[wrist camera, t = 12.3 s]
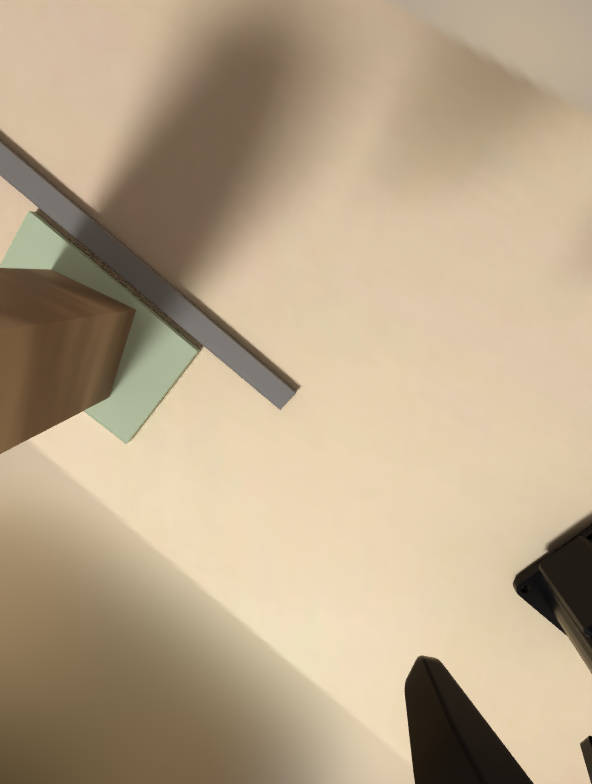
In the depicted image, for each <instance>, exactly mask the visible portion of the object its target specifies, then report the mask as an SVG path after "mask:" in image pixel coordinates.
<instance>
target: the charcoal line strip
mask: <svg viewBox="0 0 592 784" xmlns="http://www.w3.org/2000/svg"><path fill="white" fill-rule="evenodd" d="M0 176H2V177H3V178H4V179H5V180H6V181H8V182H9V183H10V184H11V185H12V186H14V187H15V188H16V189H17V190H18V191H19V192H21V193H22V194H23V195H24V196H25V197H27V198H28V199H29V200H30V201H31V202H33V203H34V204H35V205H36V206H37V207H39V208H40V209H41V210H42V211H43V212H45V213H46V214H47V215H48V216H49V217H51V218H52V219H53V220H54V221H55V222H56V223H58V224H59V225H60V226H61V227H62V228H64V229H65V230H66V231H67V232H68V233H70V234H71V235H72V236H73V237H74V238H76V239H77V240H78V241H79V242H80V243H82V244H83V245H84V246H85V247H86V248H88V249H89V250H90V251H91V252H92V253H94V254H95V255H96V256H97V257H98V258H99V259H101V260H102V261H103V262H104V263H105V264H107V265H108V266H109V267H110V268H111V269H113V270H114V271H115V272H116V273H117V274H119V275H120V276H121V277H122V278H123V279H125V280H126V281H127V282H128V283H129V284H131V285H132V286H133V287H134V288H135V289H136V290H138V291H139V292H140V293H141V294H142V295H144V296H145V297H146V298H147V299H148V300H150V301H151V302H152V303H153V304H154V305H156V306H157V307H158V308H159V309H160V310H162V311H163V312H164V313H165V314H166V315H168V316H169V317H170V318H171V319H172V320H173V321H175V322H176V323H177V324H178V325H179V326H181V327H182V328H183V329H184V330H185V331H187V332H188V333H189V334H190V335H191V336H193V337H194V338H195V339H196V340H197V341H199V342H200V343H201V344H202V345H203V346H205V347H206V348H207V349H208V350H209V351H210V352H212V353H213V354H214V355H215V356H216V357H218V358H219V359H220V360H221V361H222V362H224V363H225V364H226V365H227V366H228V367H230V368H231V369H232V370H233V371H234V372H236V373H237V374H238V375H239V376H240V377H242V378H243V379H244V380H245V381H246V382H247V383H249V384H250V385H251V386H252V387H253V388H255V389H256V390H257V391H258V392H259V393H261V394H262V395H263V396H264V397H265V398H267V399H268V400H269V401H270V402H271V403H273V404H274V405H275V406H276V407H277V408H279V409H280V410H281V409H282V407H283V406H284V405H285V404H286V403H287V402H288V401H289V400H290V399H291V397H292V396H293V395H294V394H295V393H296V391H295V390H294V389H293V388H292V387H290V386H289V385H288V384H287V383H286V382H284V381H283V380H282V379H281V378H280V377H279V376H277V375H276V374H275V373H274V372H273V371H272V370H270V369H269V368H268V367H267V366H266V365H264V364H263V363H262V362H261V361H260V360H259V359H257V358H256V357H255V356H254V355H253V354H251V353H250V352H249V351H248V350H247V349H246V348H244V347H243V346H242V345H241V344H240V343H239V342H237V341H236V340H235V339H234V338H233V337H231V336H230V335H229V334H228V333H227V332H226V331H224V330H223V329H222V328H221V327H220V326H219V325H217V324H216V323H215V322H214V321H213V320H211V319H210V318H209V317H208V316H207V315H206V314H204V313H203V312H202V311H201V310H200V309H199V308H197V307H196V306H195V305H194V304H193V303H191V302H190V301H189V300H188V299H187V298H186V297H184V296H183V295H182V294H181V293H180V292H178V291H177V290H176V289H175V288H174V287H173V286H171V285H170V284H169V283H168V282H167V281H166V280H164V279H163V278H162V277H161V276H160V275H158V274H157V273H156V272H155V271H154V270H153V269H151V268H150V267H149V266H148V265H147V264H146V263H144V262H143V261H142V260H141V259H140V258H138V257H137V256H136V255H135V254H134V253H133V252H131V251H130V250H129V249H128V248H127V247H126V246H124V245H123V244H122V243H121V242H120V241H118V240H117V239H116V238H115V237H114V236H113V235H111V234H110V233H109V232H108V231H107V230H105V229H104V228H103V227H102V226H101V225H100V224H98V223H97V222H96V221H95V220H94V219H93V218H91V217H90V216H89V215H88V214H87V213H85V212H84V211H83V210H82V209H81V208H80V207H78V206H77V205H76V204H75V203H74V202H73V201H71V200H70V199H69V198H68V197H67V196H65V195H64V194H63V193H62V192H61V191H60V190H58V189H57V188H56V187H55V186H54V185H53V184H51V183H50V182H49V181H48V180H47V179H45V178H44V177H43V176H42V175H41V174H40V173H38V172H37V171H36V170H35V169H34V168H32V167H31V166H30V165H29V164H28V163H27V162H25V161H24V160H23V159H22V158H21V157H20V156H18V155H17V154H16V153H15V152H14V151H12V150H11V149H10V148H9V147H8V146H7V145H5V144H4V143H3V142H2V141H1V140H0Z"/></svg>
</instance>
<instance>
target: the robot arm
mask: <svg viewBox="0 0 592 784" xmlns="http://www.w3.org/2000/svg"><path fill="white" fill-rule="evenodd" d="M523 586H526V587H524V588H522V587H523ZM513 587H514V589H515V591H516V592H517V594H518V595H519V596H520V597H522V598H523V599H524V600H525V601H526V602H527V603H529V604H530V605H531V606H532V607H533V608H535V609H536V610H537V611H538V612H539V613H541V614H542V615H543V616H544V617H545V618H546V619H548V620H549V621H550V622H551V623H552V624H554V625H555V626H556V627H557V628H558V629H559V630H561V631H562V632H563V633H564V634H565V635H567V636H568V637H569V639H570V640H571V642H572V644H573V645H574V647H575V648H576V650H577V651H578V653H579V655H580V656H581V658H582V659H583V661H584V662H585V664H586V665H587V667H588V669H589V670H590V672H591V673H592V525H591V526H589V527H588V528H586V529H585V530H584V531H582V532H581V533H579V534H578V535H577V536H575V537H574V538H572V539H571V540H570V541H568V542H567V543H565V544H564V545H562V546H561V547H560V548H558V549H557V550H555V551H554V552H553V553H551V554H550V555H548V556H547V557H546V558H544V559H543V560H541V561H540V562H539V563H537V564H536V565H534V566H533V567H532V568H530V569H529V570H527V571H526V572H525V573H523V574H522V575H520V576H519V577H517V578H516V579H515V580H514V582H513ZM405 700H406V709H407V718H408V727H409V736H410V745H411V754H412V763H413V772H414V779H415V784H533V782H532V781H531V780H530V778H529V777H528V776H527V774H526V773H525V772H524V770H523V769H522V768H521V766H520V765H519V764H518V763H517V761H516V760H515V759H514V757H513V756H512V755H511V753H510V752H509V751H508V749H507V748H506V747H505V745H504V744H503V743H502V741H501V740H500V739H499V737H498V736H497V735H496V734H495V732H494V731H493V730H492V728H491V727H490V726H489V724H488V723H487V722H486V720H485V719H484V718H483V716H482V715H481V714H480V712H479V711H478V710H477V708H476V707H475V706H474V705H473V703H472V702H471V701H470V699H469V698H468V697H467V695H466V694H465V693H464V691H463V690H462V689H461V687H460V686H459V685H458V683H457V682H456V681H455V680H454V678H453V677H452V676H451V674H450V673H449V672H448V670H447V669H446V668H445V666H444V665H443V664H442V663H441V662H440V661H439V660H438V659H436V658H433V657H428V656H419V657H418V658H417V659H416V661H415V663H414V665H413V667H412V669H411V671H410V673H409V675H408V677H407V679H406V682H405ZM580 746H581V749H582V753H583V756H584V760H585V763H586V767H587V770H588V774H589V777H590V781H591V784H592V736H589V737H587V738H586V739H585V740H584V741H583V742H581V743H580Z"/></svg>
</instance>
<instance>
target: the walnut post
mask: <svg viewBox="0 0 592 784" xmlns="http://www.w3.org/2000/svg"><path fill="white" fill-rule="evenodd" d="M135 312H136V309H134V308H132V307H130V306H128V305H126V304H123V303H121V302H119V301H117V300H115V299H113V298H111V297H109V296H106V295H104V294H102V293H100V292H98V291H96V290H94V289H92V288H89V287H87V286H85V285H83V284H81V283H79V282H77V281H75V280H72V279H70V278H68V277H66V276H64V275H62V274H60V273H58V272H55V271H53V270H51V269H21V268H0V454H1V453H3V452H5V451H7V450H9V449H11V448H12V447H14V446H16V445H18V444H20V443H22V442H24V441H26V440H28V439H30V438H32V437H34V436H36V435H38V434H40V433H41V432H43V431H45V430H47V429H49V428H51V427H53V426H55V425H57V424H59V423H61V422H63V421H65V420H67V419H69V418H70V417H72V416H74V415H76V414H78V413H80V412H82V411H84V410H86V409H88V408H90V407H92V406H94V405H96V404H98V403H100V402H101V401H103V400H105V399H107V398H109V396H110V393H111V390H112V386H113V383H114V380H115V377H116V374H117V370H118V367H119V364H120V361H121V357H122V354H123V351H124V348H125V345H126V341H127V338H128V335H129V332H130V328H131V325H132V322H133V319H134V316H135Z"/></svg>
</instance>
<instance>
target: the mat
mask: <svg viewBox="0 0 592 784" xmlns="http://www.w3.org/2000/svg"><path fill="white" fill-rule="evenodd" d="M0 268H21V269H51V270H53V271H55V272H58V273H60V274H62V275H64V276H66V277H68V278H70V279H72V280H75V281H77V282H79V283H81V284H83V285H85V286H87V287H89V288H92V289H94V290H96V291H98V292H100V293H102V294H104V295H106V296H109V297H111V298H113V299H115V300H117V301H119V302H121V303H123V304H126V305H128V306H130V307H132V308H134V309H136V312H135V316H134V319H133V322H132V325H131V328H130V332H129V335H128V338H127V341H126V345H125V348H124V351H123V354H122V357H121V361H120V364H119V367H118V370H117V374H116V377H115V380H114V383H113V386H112V390H111V393H110V396H109V398H107V399H105V400H103V401H101V402H100V403H98V404H96V405H94V406H92V407H90V408H88V409H86V410H84V412H86V413H87V414H88V415H89V416H91V417H92V418H93V419H94V420H96V421H97V422H98V423H100V424H101V425H102V426H103V427H105V428H106V429H107V430H109V431H110V432H111V433H112V434H114V435H115V436H116V437H117V438H119V439H120V440H121V441H123V442H124V443H125V444H127V443H128V442H130V441H131V439H132V438H133V437H134V435H135V434H136V433H137V432H138V430H139V429H140V428H141V426H142V425H143V424H144V422H145V421H146V420H147V419H148V417H149V416H150V415H151V413H152V412H153V411H154V409H155V408H156V407H157V406H158V404H159V403H160V402H161V400H162V399H163V398H164V396H165V395H166V394H167V393H168V391H169V390H170V389H171V387H172V386H173V385H174V384H175V382H176V381H177V380H178V378H179V377H180V376H181V374H182V373H183V372H184V371H185V369H186V368H187V367H188V365H189V364H190V363H191V361H192V360H193V359H194V358H195V356H196V355H197V354H198V352H199V351H200V349H198V348H197V347H196V346H195V345H194V344H192V343H191V342H190V341H189V340H188V339H186V338H185V337H184V336H183V335H182V334H180V333H179V332H178V331H177V330H176V329H175V328H173V327H172V326H171V325H170V324H169V323H167V322H166V321H165V320H164V319H163V318H161V317H160V316H159V315H158V314H157V313H155V312H154V311H153V310H152V309H151V308H149V307H148V306H147V305H146V304H145V303H143V302H142V301H141V300H140V299H139V298H137V297H136V296H135V295H134V294H133V293H131V292H130V291H129V290H128V289H127V288H125V287H124V286H123V285H122V284H121V283H119V282H118V281H117V280H116V279H115V278H113V277H112V276H111V275H110V274H109V273H107V272H106V271H105V270H104V269H103V268H101V267H100V266H99V265H98V264H97V263H95V262H94V261H93V260H92V259H91V258H90V257H88V256H87V255H86V254H85V253H84V252H82V251H81V250H80V249H79V248H78V247H76V246H75V245H74V244H73V243H72V242H70V241H69V240H68V239H67V238H66V237H64V236H63V235H62V234H61V233H60V232H58V231H57V230H56V229H55V228H54V227H52V226H51V225H50V224H49V223H48V222H46V221H45V220H44V219H43V218H42V217H40V216H39V215H38V214H37V213H36V212H32V211H28V213H27V215H26V217H25V219H24V221H23V223H22V225H21V227H20V229H19V230H18V232H17V234H16V236H15V238H14V240H13V242H12V244H11V246H10V248H9V249H8V251H7V253H6V255H5V257H4V259H3V261H2V263H1V265H0Z"/></svg>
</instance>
